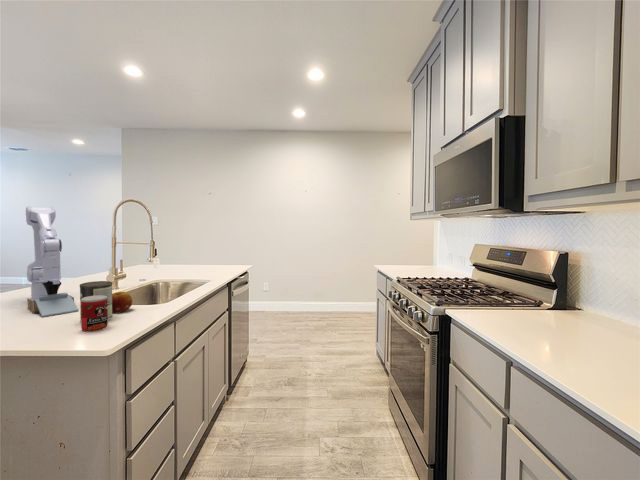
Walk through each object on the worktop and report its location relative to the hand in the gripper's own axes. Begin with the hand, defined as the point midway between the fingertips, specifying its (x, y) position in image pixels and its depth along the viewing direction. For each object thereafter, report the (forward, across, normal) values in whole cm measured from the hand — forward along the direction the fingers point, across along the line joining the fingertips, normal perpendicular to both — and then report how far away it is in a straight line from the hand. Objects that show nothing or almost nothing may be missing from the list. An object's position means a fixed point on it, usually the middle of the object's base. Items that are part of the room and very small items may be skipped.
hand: (52, 298), depth 133 cm
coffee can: (+5, +30, +7) cm, 31 cm away
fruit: (+5, +24, +17) cm, 30 cm away
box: (+4, -2, 0) cm, 5 cm away
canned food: (+5, +41, +3) cm, 41 cm away
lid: (+2, +6, 0) cm, 7 cm away
